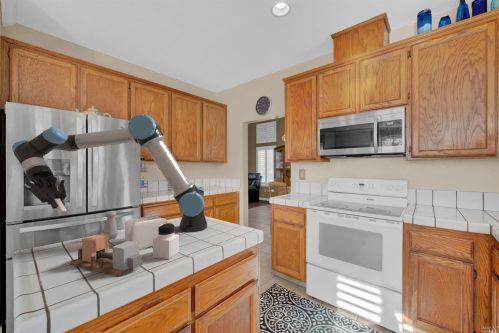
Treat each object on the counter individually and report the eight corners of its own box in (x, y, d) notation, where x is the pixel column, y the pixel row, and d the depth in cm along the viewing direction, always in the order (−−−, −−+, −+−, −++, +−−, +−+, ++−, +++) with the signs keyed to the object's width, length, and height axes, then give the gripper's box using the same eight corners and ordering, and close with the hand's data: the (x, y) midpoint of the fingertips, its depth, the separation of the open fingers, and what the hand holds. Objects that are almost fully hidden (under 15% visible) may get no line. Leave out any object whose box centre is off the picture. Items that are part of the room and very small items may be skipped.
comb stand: (70, 264, 75) (70, 251, 75) (96, 254, 83) (96, 243, 83) (119, 276, 67) (119, 262, 67) (142, 264, 75) (142, 251, 75)
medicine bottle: (179, 252, 86) (179, 222, 86) (169, 259, 79) (168, 227, 79) (164, 250, 87) (163, 221, 87) (152, 257, 80) (152, 226, 80)
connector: (112, 268, 70) (112, 246, 70) (128, 260, 76) (128, 240, 76) (129, 271, 67) (129, 249, 67) (144, 263, 73) (144, 243, 73)
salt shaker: (100, 239, 101) (100, 212, 101) (112, 235, 106) (112, 210, 106) (109, 241, 99) (109, 213, 99) (120, 237, 104) (120, 210, 104)
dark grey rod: (81, 254, 78) (81, 249, 78) (86, 252, 80) (86, 247, 80) (118, 262, 72) (118, 256, 72) (123, 259, 74) (123, 254, 74)
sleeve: (82, 260, 75) (82, 238, 75) (99, 253, 81) (99, 233, 81) (91, 262, 73) (91, 240, 73) (108, 255, 79) (108, 235, 79)
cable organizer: (130, 252, 85) (129, 224, 85) (124, 245, 93) (124, 219, 93) (167, 243, 95) (167, 218, 95) (160, 237, 103) (159, 214, 103)
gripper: (52, 176, 96) (77, 215, 90) (12, 177, 84) (37, 223, 78) (60, 164, 94) (85, 204, 88) (20, 164, 82) (46, 210, 76)
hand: (63, 213), depth 83 cm, fingers closed
